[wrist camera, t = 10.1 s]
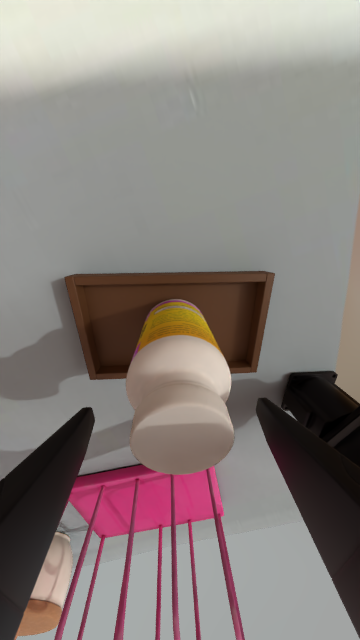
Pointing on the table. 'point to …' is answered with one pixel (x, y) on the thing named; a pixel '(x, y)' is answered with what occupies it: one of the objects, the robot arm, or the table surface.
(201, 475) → the file sorter
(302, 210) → the table surface
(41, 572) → the lidded bowl
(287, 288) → the table surface
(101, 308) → the tray
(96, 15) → the table surface
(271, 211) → the table surface
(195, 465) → the supplement bottle
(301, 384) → the robot arm
